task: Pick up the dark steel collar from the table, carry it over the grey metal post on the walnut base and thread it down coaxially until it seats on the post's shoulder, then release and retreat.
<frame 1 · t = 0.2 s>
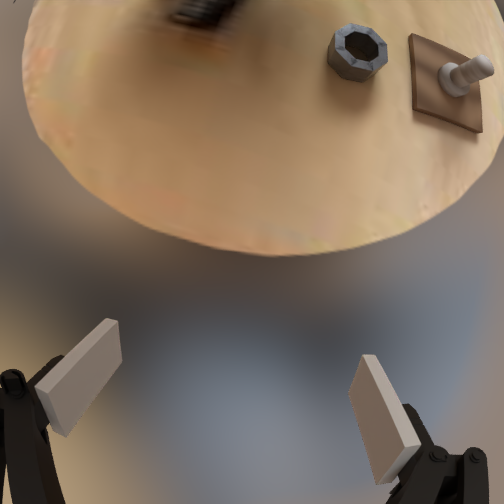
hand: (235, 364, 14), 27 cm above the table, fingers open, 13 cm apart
shaft block: (446, 83, 33), on the table
collar: (352, 59, 33), on the table
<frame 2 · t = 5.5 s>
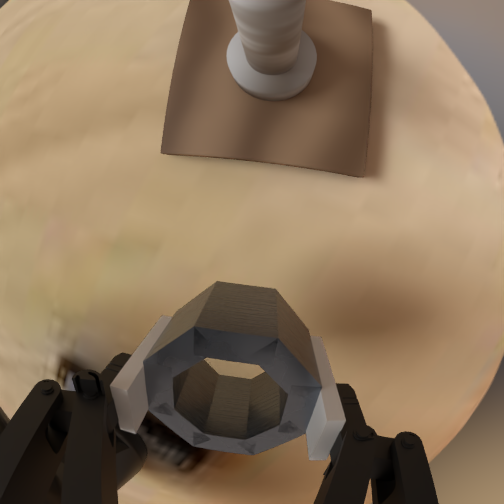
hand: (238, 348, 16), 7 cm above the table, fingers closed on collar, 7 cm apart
shaft block: (272, 72, 18), on the table
collar: (239, 345, 16), point 7 cm above the table, touching gripper
when the fingers open (3 cm above the table, at t = 11.4 s): collar stays where it is, resting on shaft block.
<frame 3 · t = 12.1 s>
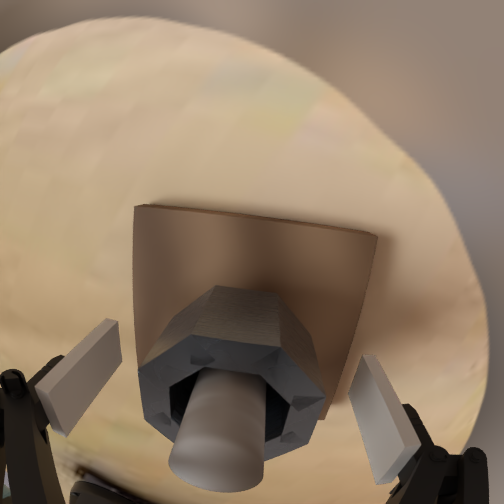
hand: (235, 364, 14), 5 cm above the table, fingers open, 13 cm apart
shaft block: (242, 323, 19), on the table
collar: (238, 351, 15), point 3 cm above the table, touching shaft block
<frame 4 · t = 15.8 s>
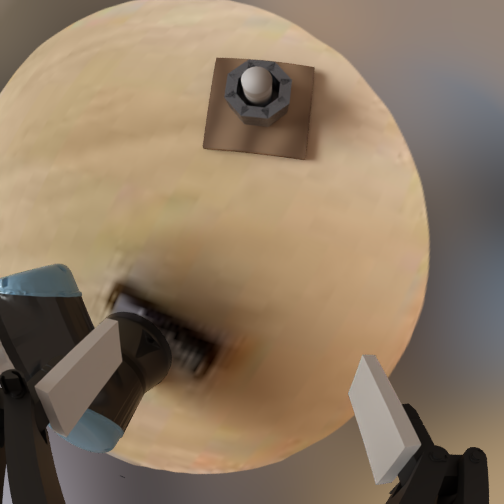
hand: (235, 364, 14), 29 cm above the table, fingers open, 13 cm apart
shaft block: (259, 106, 37), on the table
collar: (259, 99, 34), point 3 cm above the table, touching shaft block
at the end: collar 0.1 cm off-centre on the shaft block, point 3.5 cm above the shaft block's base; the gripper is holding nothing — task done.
